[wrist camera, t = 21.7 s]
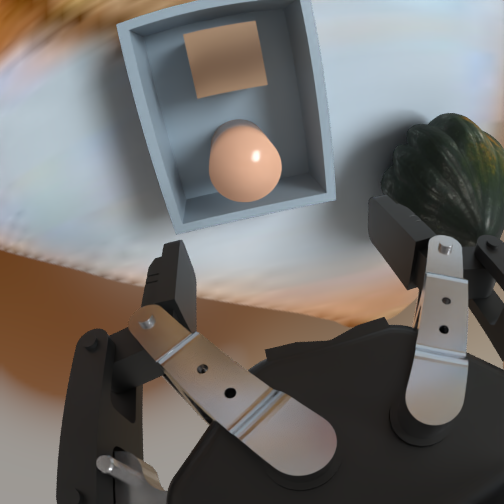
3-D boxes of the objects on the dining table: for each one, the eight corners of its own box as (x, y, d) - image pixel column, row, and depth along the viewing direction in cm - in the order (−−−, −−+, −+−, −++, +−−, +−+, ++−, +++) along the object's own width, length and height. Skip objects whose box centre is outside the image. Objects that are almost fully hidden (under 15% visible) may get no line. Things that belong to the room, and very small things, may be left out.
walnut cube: (188, 41, 21) (182, 34, 17) (247, 29, 21) (255, 20, 17) (200, 94, 24) (197, 98, 19) (257, 82, 24) (267, 85, 19)
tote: (135, 32, 20) (116, 24, 15) (289, 2, 20) (308, -13, 15) (181, 205, 30) (176, 234, 25) (315, 176, 30) (336, 200, 25)
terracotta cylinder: (204, 126, 25) (201, 143, 19) (260, 113, 25) (275, 127, 19) (217, 177, 28) (218, 209, 22) (270, 165, 28) (286, 194, 22)
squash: (517, 158, 25) (558, 171, 13) (466, 258, 33) (472, 319, 21) (420, 101, 30) (409, 78, 18) (377, 204, 38) (343, 238, 26)
